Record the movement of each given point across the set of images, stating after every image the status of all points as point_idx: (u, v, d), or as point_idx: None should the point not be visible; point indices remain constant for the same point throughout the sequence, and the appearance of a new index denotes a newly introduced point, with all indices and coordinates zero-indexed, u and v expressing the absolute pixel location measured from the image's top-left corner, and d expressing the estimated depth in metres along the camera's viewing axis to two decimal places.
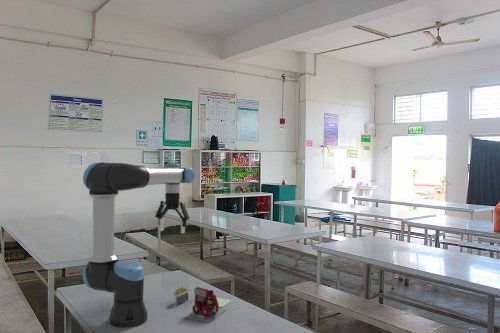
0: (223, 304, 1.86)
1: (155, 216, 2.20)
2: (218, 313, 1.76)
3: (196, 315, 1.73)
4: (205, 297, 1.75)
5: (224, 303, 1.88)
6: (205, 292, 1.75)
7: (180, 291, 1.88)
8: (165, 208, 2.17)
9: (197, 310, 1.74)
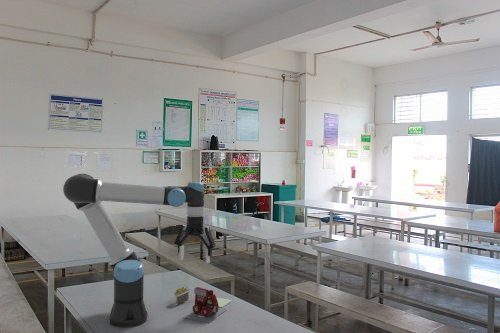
0: (223, 304, 1.86)
1: (174, 243, 1.90)
2: (218, 313, 1.76)
3: (196, 315, 1.73)
4: (205, 297, 1.75)
5: (224, 303, 1.88)
6: (205, 292, 1.75)
7: (180, 291, 1.89)
8: (187, 234, 1.87)
9: (197, 310, 1.74)
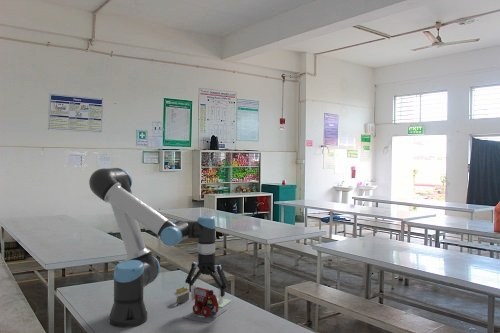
0: (223, 304, 1.86)
1: (185, 281, 1.78)
2: (218, 313, 1.76)
3: (196, 315, 1.73)
4: (205, 297, 1.75)
5: (224, 303, 1.88)
6: (205, 292, 1.75)
7: (181, 291, 1.89)
8: (198, 272, 1.75)
9: (197, 310, 1.74)
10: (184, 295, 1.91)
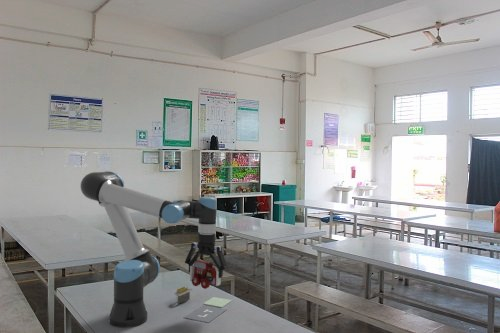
0: (223, 304, 1.86)
1: (185, 262, 1.78)
2: (218, 313, 1.76)
3: (196, 315, 1.73)
4: (204, 269, 1.75)
5: (224, 303, 1.88)
6: (205, 265, 1.75)
7: (181, 290, 1.89)
8: (197, 253, 1.75)
9: (196, 282, 1.74)
10: (185, 295, 1.91)
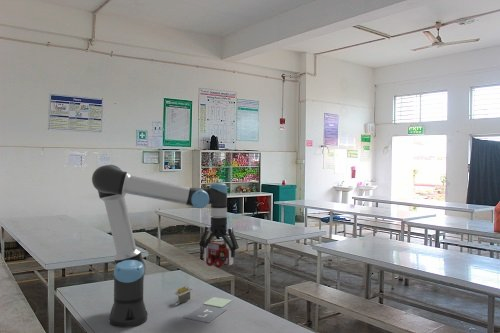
0: (223, 304, 1.86)
1: (199, 244, 1.91)
2: (218, 313, 1.76)
3: (196, 315, 1.73)
4: (218, 250, 1.88)
5: (224, 303, 1.88)
6: (218, 246, 1.88)
7: (182, 290, 1.90)
8: (211, 235, 1.88)
9: (211, 262, 1.87)
10: (185, 295, 1.91)
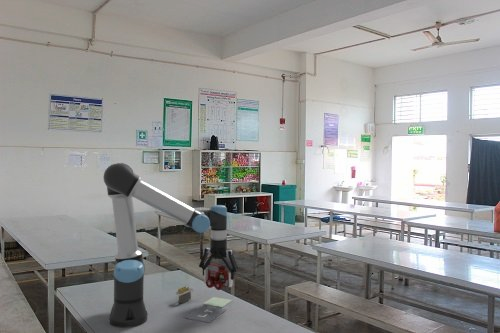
0: (223, 304, 1.86)
1: (199, 266, 1.92)
2: (218, 313, 1.76)
3: (196, 315, 1.73)
4: (217, 272, 1.89)
5: (224, 303, 1.88)
6: (217, 268, 1.89)
7: (182, 290, 1.90)
8: (210, 257, 1.89)
9: (210, 284, 1.88)
10: (186, 294, 1.92)
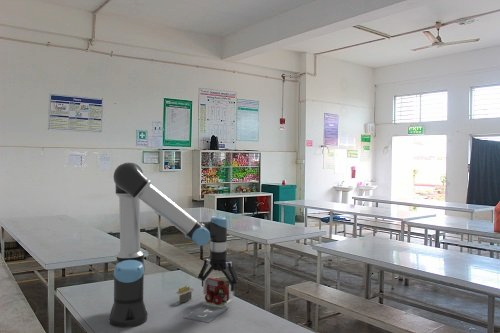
0: (223, 304, 1.86)
1: (198, 277, 1.92)
2: (218, 313, 1.76)
3: (196, 315, 1.73)
4: (216, 287, 1.89)
5: (224, 303, 1.88)
6: (216, 282, 1.89)
7: (183, 290, 1.90)
8: (210, 269, 1.89)
9: (209, 298, 1.88)
10: (186, 294, 1.92)
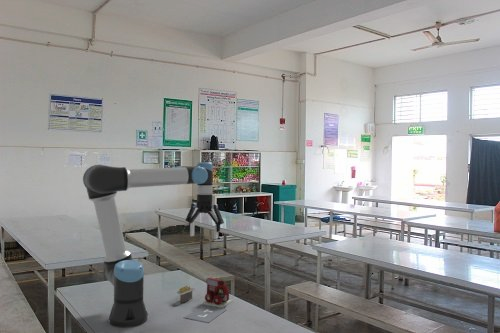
0: (223, 304, 1.86)
1: None
2: (218, 313, 1.76)
3: (196, 315, 1.73)
4: (216, 287, 1.89)
5: (224, 303, 1.88)
6: (216, 282, 1.89)
7: (184, 289, 1.91)
8: (197, 211, 1.98)
9: (209, 298, 1.88)
10: (187, 294, 1.93)
